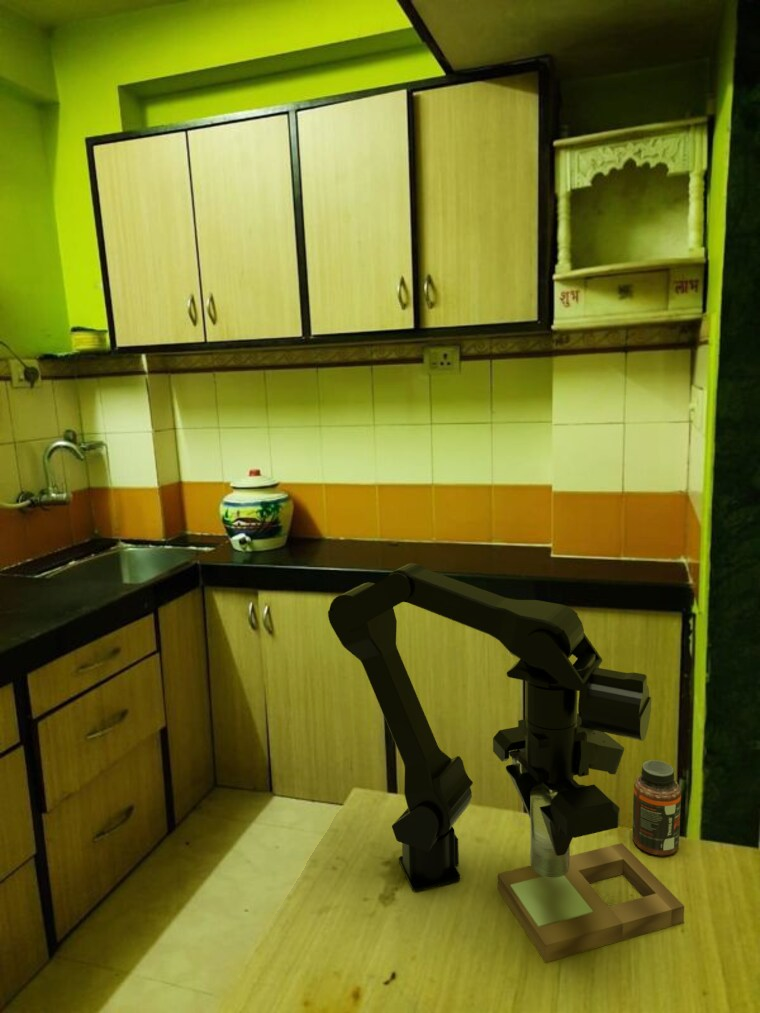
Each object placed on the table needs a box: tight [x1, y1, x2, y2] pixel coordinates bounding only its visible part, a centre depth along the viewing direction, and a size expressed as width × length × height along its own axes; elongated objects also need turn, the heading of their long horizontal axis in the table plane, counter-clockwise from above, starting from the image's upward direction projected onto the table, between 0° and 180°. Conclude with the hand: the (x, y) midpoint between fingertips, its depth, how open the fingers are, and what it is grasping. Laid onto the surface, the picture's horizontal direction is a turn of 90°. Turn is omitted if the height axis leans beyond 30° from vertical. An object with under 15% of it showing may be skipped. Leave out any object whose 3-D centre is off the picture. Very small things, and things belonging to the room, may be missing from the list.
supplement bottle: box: [632, 759, 682, 857], centre depth 96 cm, size 6×6×11 cm
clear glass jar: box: [529, 784, 571, 878], centre depth 83 cm, size 4×4×9 cm
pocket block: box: [497, 842, 685, 963], centre depth 86 cm, size 18×12×2 cm, turn 106°
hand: (549, 841), depth 83 cm, fingers closed on clear glass jar, 4 cm apart
